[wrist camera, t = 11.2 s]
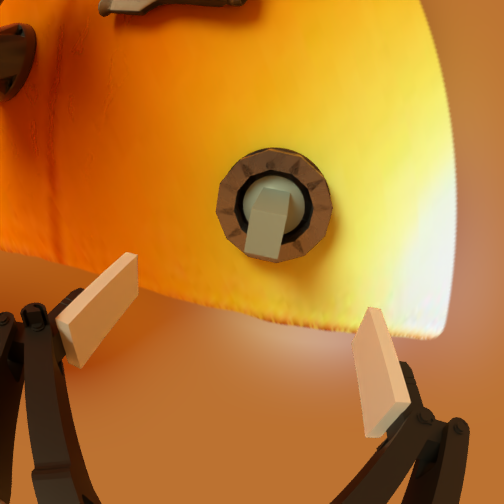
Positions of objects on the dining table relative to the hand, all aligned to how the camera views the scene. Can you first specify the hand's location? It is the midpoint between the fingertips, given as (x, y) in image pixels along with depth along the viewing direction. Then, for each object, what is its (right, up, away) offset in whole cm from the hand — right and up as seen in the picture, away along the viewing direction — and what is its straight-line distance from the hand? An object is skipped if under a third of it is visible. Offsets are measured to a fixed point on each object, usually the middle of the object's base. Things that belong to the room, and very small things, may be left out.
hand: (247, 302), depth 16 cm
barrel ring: (+3, +9, +19) cm, 21 cm away
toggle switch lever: (+3, +8, +19) cm, 21 cm away
